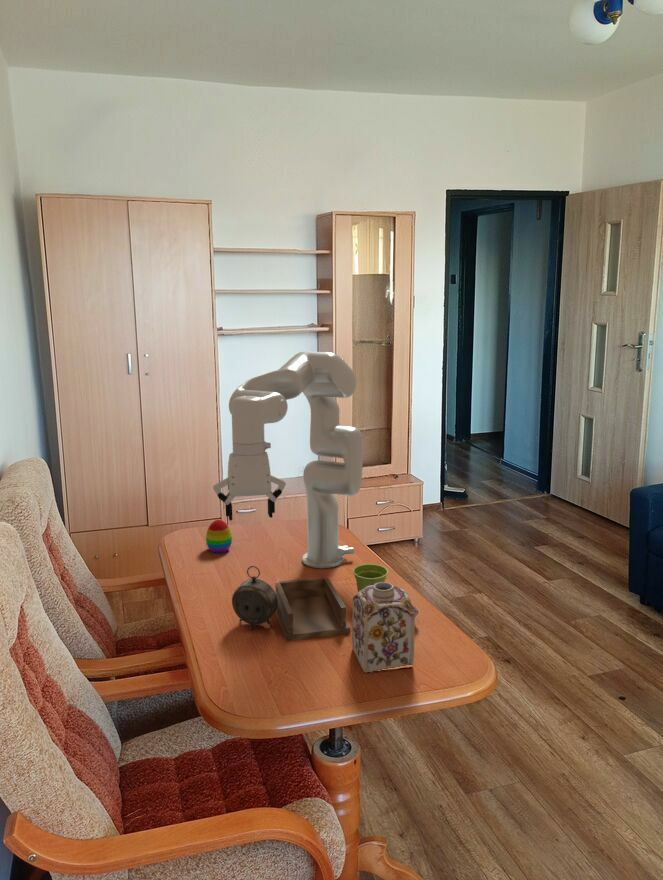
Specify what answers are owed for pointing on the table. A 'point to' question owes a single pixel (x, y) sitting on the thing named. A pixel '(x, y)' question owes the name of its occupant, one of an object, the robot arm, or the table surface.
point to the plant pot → (369, 575)
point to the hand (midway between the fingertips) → (250, 517)
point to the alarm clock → (254, 601)
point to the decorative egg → (218, 537)
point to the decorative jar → (383, 627)
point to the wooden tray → (310, 609)
